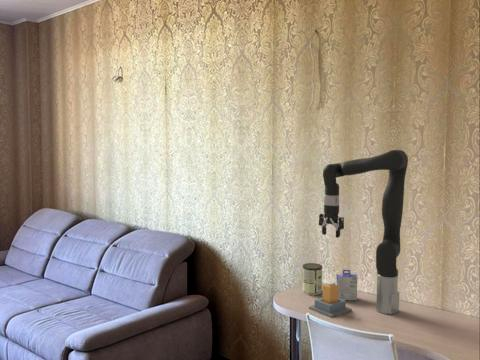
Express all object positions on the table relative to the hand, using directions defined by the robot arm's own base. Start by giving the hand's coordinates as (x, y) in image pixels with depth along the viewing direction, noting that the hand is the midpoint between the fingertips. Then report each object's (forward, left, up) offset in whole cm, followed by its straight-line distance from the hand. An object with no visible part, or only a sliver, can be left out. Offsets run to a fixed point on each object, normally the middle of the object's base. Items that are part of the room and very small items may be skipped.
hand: (330, 235), depth 230 cm
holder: (-11, +12, -32) cm, 36 cm away
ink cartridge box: (-6, -6, -32) cm, 33 cm away
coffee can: (+12, 0, -32) cm, 34 cm away
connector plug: (-11, +12, -31) cm, 35 cm away
